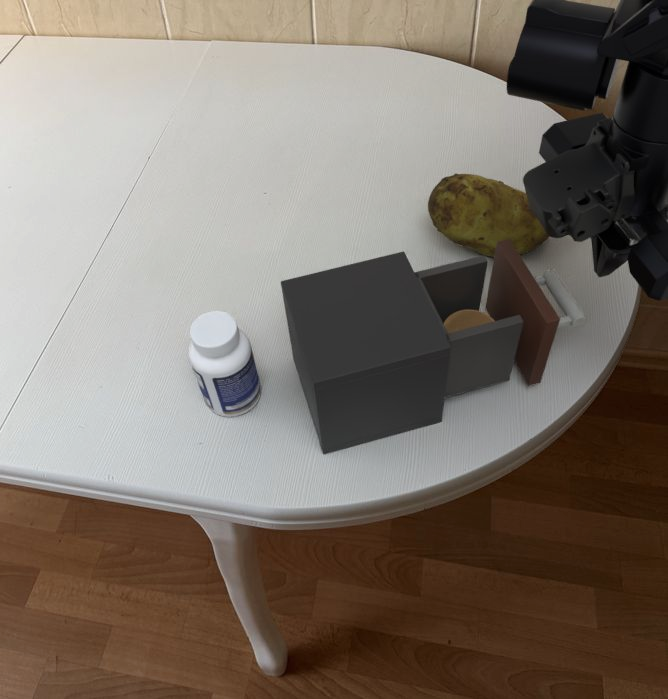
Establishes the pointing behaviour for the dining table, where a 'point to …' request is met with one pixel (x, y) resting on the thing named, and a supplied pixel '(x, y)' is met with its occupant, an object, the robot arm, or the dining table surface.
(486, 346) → the drawer
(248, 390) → the pill bottle
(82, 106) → the dining table surface
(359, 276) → the dark grey cube
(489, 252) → the potato
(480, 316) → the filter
